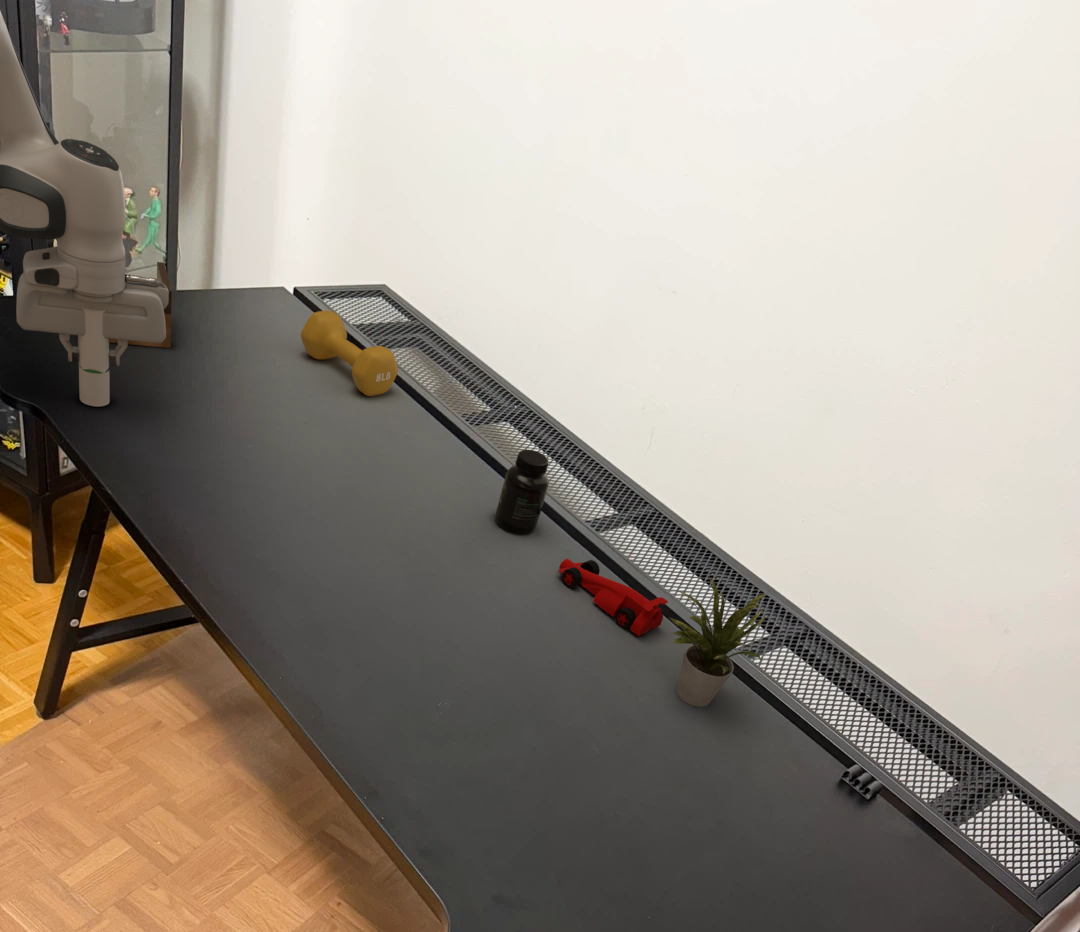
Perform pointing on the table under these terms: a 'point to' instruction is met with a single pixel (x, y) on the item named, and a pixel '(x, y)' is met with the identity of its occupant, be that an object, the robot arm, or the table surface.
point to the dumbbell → (349, 353)
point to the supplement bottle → (523, 493)
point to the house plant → (711, 650)
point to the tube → (94, 361)
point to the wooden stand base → (164, 279)
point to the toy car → (614, 597)
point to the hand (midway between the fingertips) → (93, 362)
